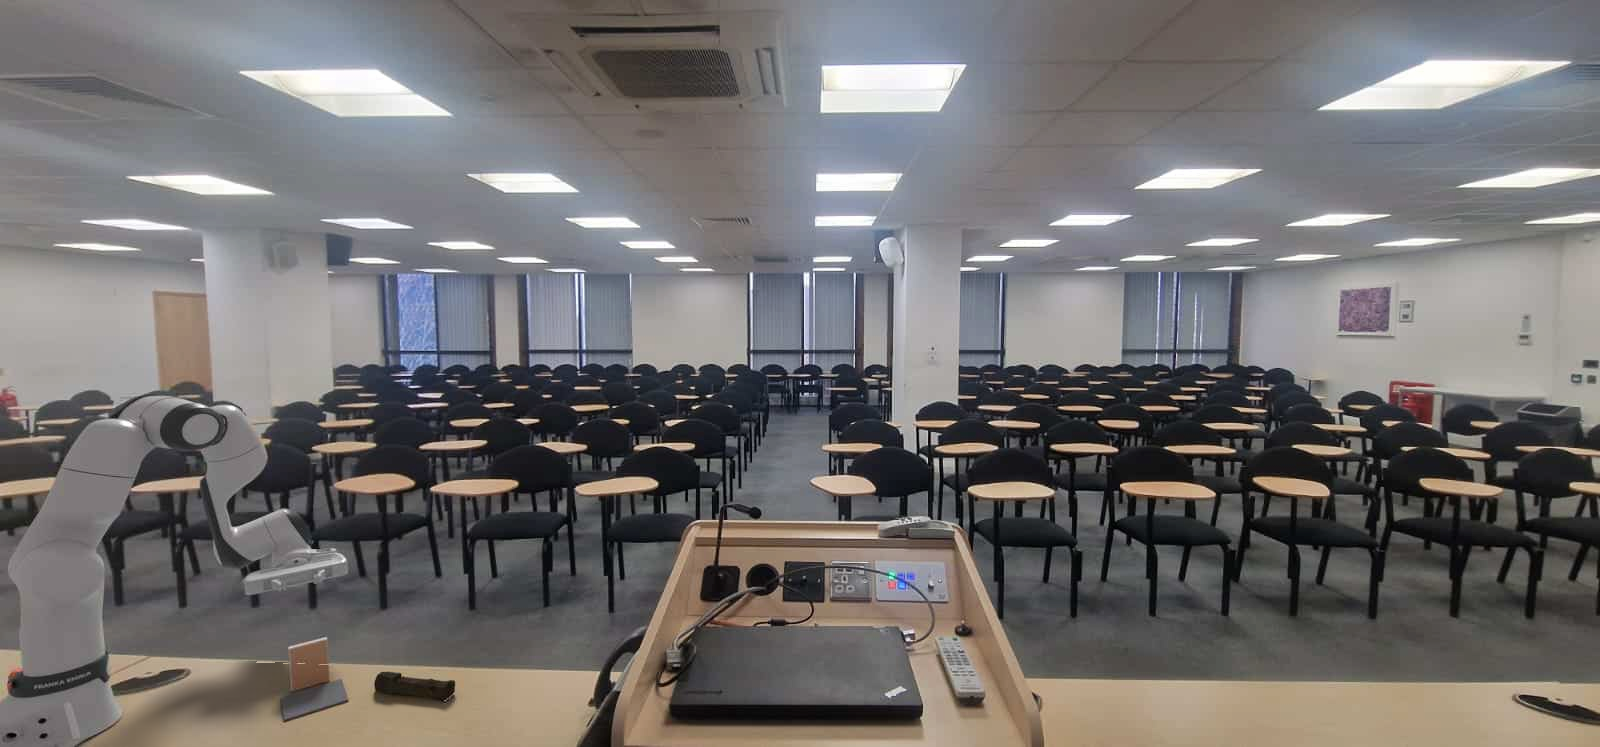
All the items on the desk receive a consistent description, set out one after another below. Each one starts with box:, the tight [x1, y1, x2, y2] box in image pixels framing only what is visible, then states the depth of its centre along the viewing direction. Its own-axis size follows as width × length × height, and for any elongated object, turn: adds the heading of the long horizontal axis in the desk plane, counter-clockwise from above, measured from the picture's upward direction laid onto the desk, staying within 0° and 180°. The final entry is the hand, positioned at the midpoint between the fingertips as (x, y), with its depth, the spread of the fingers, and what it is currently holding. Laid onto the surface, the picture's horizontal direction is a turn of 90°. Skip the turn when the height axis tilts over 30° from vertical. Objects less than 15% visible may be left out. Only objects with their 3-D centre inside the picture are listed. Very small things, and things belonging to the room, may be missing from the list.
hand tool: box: [373, 671, 456, 702], centre depth 145 cm, size 19×4×5 cm, turn 78°
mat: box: [280, 678, 349, 722], centre depth 143 cm, size 11×11×1 cm
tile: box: [287, 636, 331, 692], centre depth 148 cm, size 7×2×10 cm, turn 131°
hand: (300, 584), depth 156 cm, fingers open, 5 cm apart
